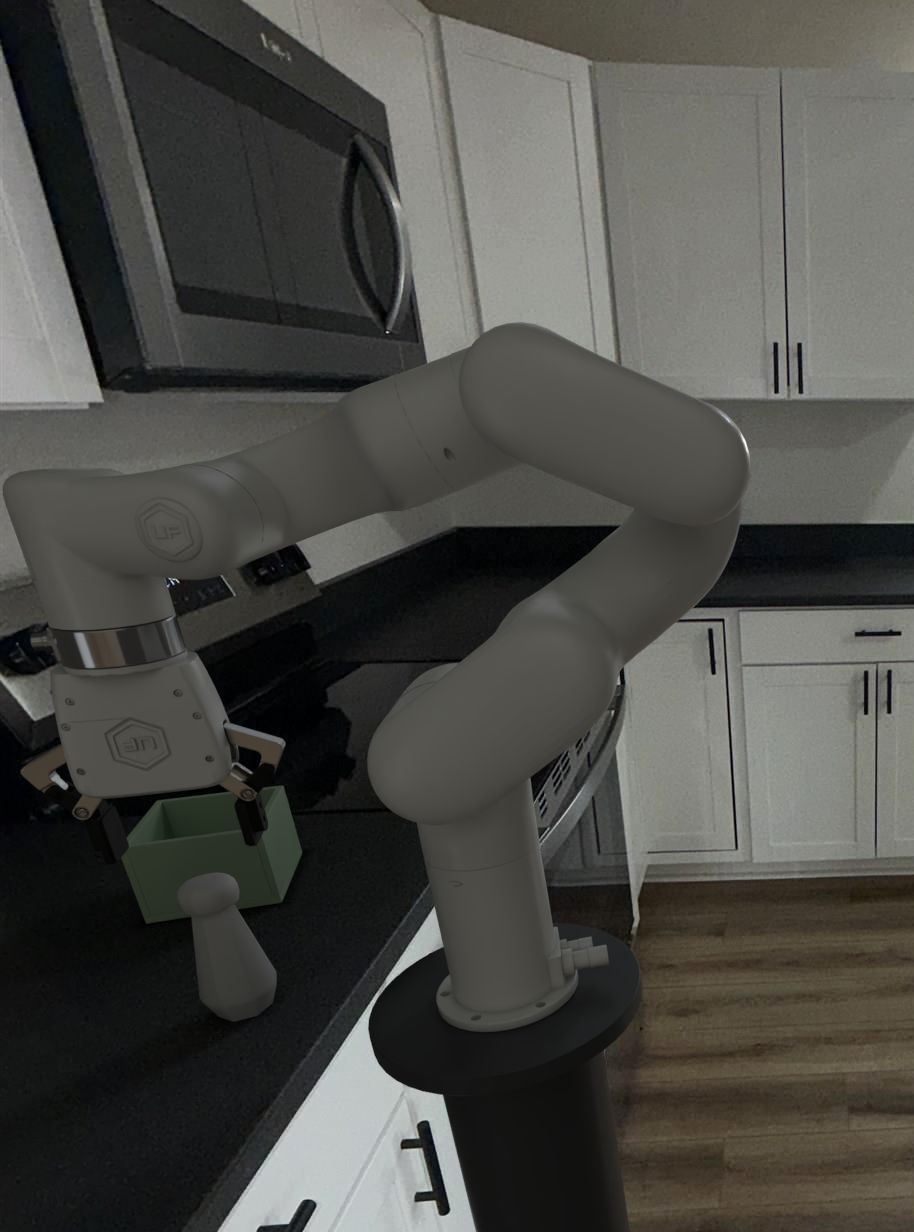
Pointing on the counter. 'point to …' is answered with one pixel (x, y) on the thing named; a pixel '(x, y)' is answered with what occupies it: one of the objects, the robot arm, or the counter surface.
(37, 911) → the counter surface
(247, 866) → the bin
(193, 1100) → the counter surface
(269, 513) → the robot arm
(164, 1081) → the counter surface
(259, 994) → the salt shaker
